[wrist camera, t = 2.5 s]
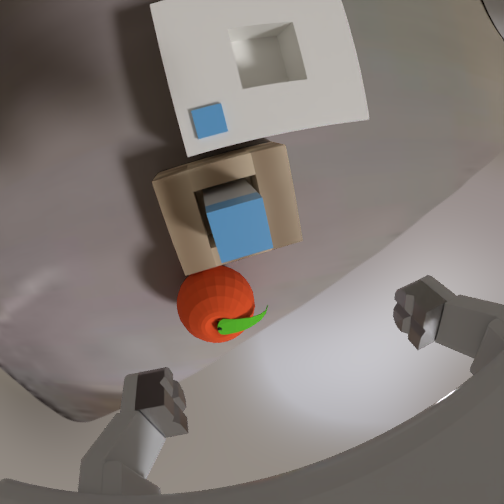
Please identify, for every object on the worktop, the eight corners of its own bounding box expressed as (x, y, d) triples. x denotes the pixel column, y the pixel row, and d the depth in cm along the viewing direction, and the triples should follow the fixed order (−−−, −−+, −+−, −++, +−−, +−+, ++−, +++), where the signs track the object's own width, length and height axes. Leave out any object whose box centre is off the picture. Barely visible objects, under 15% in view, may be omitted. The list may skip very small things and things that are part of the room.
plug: (242, 177, 24) (262, 197, 17) (251, 215, 25) (273, 248, 19) (201, 188, 23) (206, 213, 17) (212, 226, 25) (221, 263, 19)
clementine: (257, 248, 28) (278, 287, 21) (256, 307, 31) (273, 353, 24) (173, 254, 26) (170, 297, 20) (181, 314, 29) (182, 363, 23)
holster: (271, 141, 24) (285, 144, 20) (287, 224, 27) (302, 240, 24) (157, 172, 23) (151, 181, 19) (185, 254, 26) (185, 275, 23)
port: (311, 3, 18) (337, -16, 14) (339, 118, 24) (371, 119, 19) (156, 25, 17) (149, 2, 12) (188, 151, 23) (187, 157, 18)
